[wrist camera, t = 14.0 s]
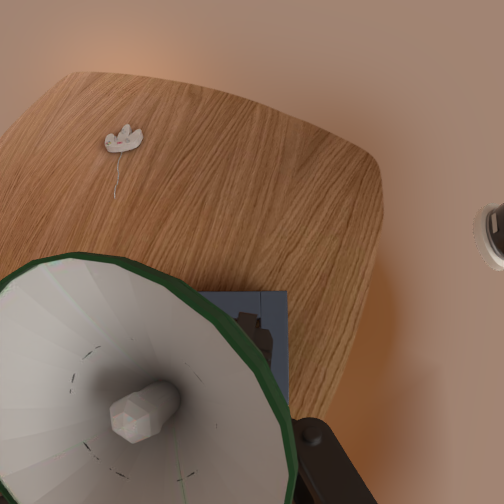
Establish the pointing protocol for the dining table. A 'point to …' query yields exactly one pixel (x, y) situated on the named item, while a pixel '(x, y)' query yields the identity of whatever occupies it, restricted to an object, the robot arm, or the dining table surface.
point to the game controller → (123, 141)
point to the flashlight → (133, 392)
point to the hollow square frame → (262, 323)
